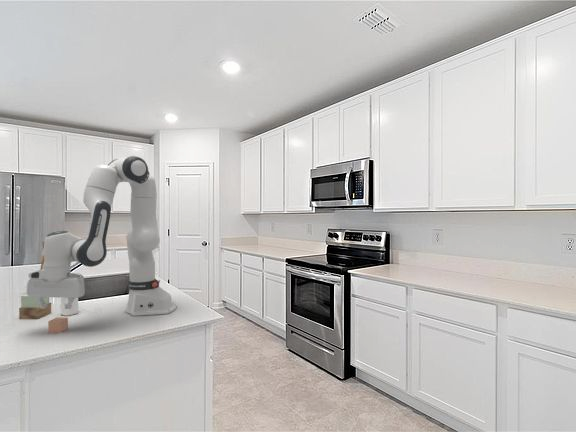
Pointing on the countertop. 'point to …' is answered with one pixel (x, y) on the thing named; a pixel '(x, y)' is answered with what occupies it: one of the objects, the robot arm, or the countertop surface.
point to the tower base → (34, 312)
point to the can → (72, 310)
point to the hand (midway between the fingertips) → (55, 308)
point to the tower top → (31, 301)
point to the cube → (58, 325)
